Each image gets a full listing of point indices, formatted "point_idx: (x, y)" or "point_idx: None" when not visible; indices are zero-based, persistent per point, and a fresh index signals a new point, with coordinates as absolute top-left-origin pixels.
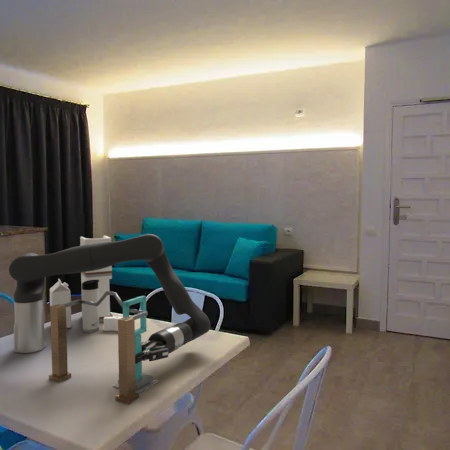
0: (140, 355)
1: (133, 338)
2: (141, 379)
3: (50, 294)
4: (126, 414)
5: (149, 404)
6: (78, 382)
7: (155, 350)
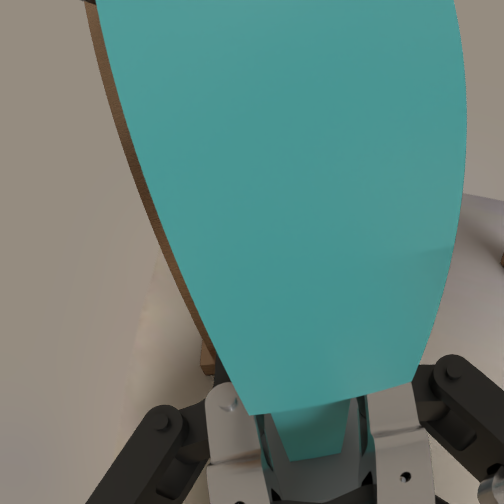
0: None
1: (116, 108)
2: (271, 442)
3: None
4: (180, 297)
5: (148, 361)
6: (483, 297)
7: (146, 482)
